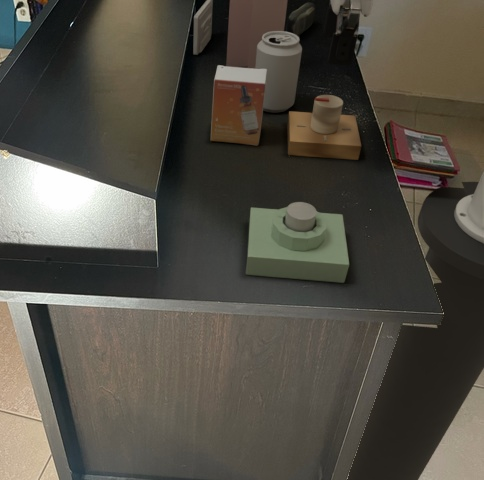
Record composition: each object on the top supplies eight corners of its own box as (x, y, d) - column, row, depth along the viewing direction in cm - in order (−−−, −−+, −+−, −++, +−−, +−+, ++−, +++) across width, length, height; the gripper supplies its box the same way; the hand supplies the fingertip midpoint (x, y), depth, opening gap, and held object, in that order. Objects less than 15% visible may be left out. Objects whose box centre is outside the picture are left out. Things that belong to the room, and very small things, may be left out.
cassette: (199, 56, 119) (200, 17, 113) (190, 55, 119) (191, 16, 114) (213, 35, 127) (215, -2, 122) (205, 34, 127) (206, -3, 122)
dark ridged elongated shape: (305, -1, 131) (283, 18, 121) (317, 1, 130) (296, 20, 120) (301, 22, 134) (280, 42, 124) (314, 24, 134) (293, 45, 123)
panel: (352, 129, 98) (355, 114, 96) (358, 160, 90) (361, 145, 89) (287, 124, 98) (289, 110, 97) (287, 155, 91) (290, 140, 89)
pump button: (313, 216, 72) (316, 202, 70) (314, 234, 69) (317, 220, 68) (284, 214, 72) (286, 200, 71) (284, 231, 70) (286, 218, 68)
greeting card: (278, 61, 117) (287, -19, 107) (291, 76, 112) (303, -7, 102) (224, 66, 115) (229, -15, 105) (236, 82, 110) (242, -2, 100)
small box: (209, 142, 94) (212, 79, 86) (213, 125, 98) (216, 63, 90) (259, 146, 93) (266, 83, 86) (261, 129, 97) (267, 67, 90)
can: (247, 96, 106) (253, 29, 97) (286, 94, 107) (295, 27, 98) (257, 116, 100) (265, 46, 92) (299, 113, 101) (309, 44, 93)
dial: (336, 121, 94) (342, 93, 91) (338, 135, 91) (344, 106, 88) (309, 120, 94) (314, 92, 91) (310, 133, 91) (315, 104, 88)
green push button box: (338, 232, 77) (345, 201, 74) (344, 283, 70) (353, 251, 66) (248, 225, 78) (252, 194, 74) (245, 274, 71) (249, 243, 67)
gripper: (407, -71, 65) (370, 77, 77) (385, -103, 77) (356, 29, 89) (340, -75, 65) (313, 73, 77) (329, -106, 77) (307, 25, 89)
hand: (336, 49), depth 83 cm, fingers open, 9 cm apart
